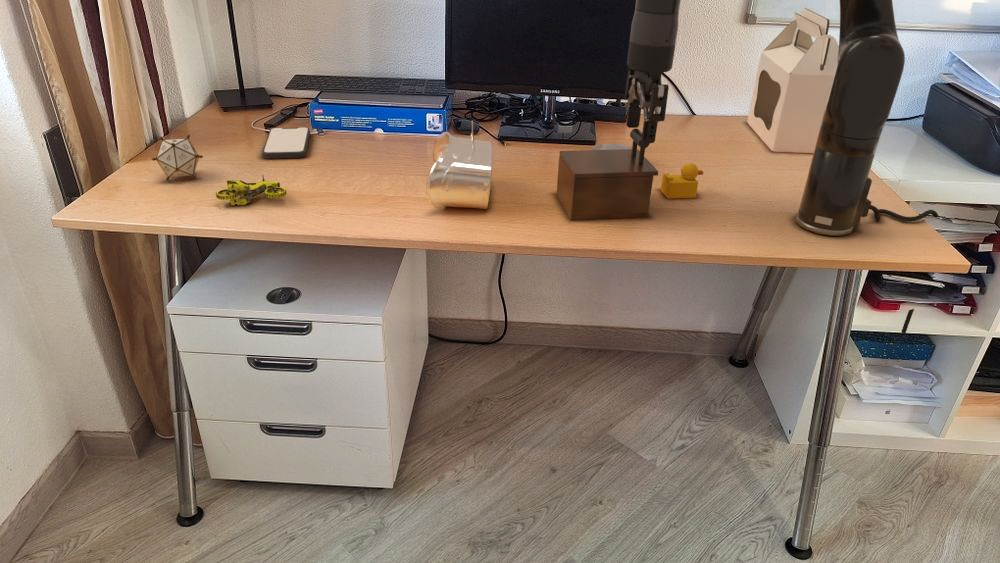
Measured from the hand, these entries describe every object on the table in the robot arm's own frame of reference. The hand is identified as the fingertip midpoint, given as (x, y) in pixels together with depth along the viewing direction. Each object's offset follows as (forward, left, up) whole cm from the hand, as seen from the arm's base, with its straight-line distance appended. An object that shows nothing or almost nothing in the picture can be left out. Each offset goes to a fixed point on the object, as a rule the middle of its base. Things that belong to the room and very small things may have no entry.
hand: (639, 134), depth 126 cm
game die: (+83, -20, -14) cm, 87 cm away
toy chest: (+6, 0, -13) cm, 14 cm away
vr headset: (+31, -7, -14) cm, 35 cm away
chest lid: (+5, 0, -5) cm, 8 cm away
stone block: (-2, -19, -14) cm, 23 cm away
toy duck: (-11, -4, -13) cm, 18 cm away
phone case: (+65, -37, -14) cm, 76 cm away
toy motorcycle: (+68, -8, -14) cm, 70 cm away
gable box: (-50, -35, -14) cm, 62 cm away
